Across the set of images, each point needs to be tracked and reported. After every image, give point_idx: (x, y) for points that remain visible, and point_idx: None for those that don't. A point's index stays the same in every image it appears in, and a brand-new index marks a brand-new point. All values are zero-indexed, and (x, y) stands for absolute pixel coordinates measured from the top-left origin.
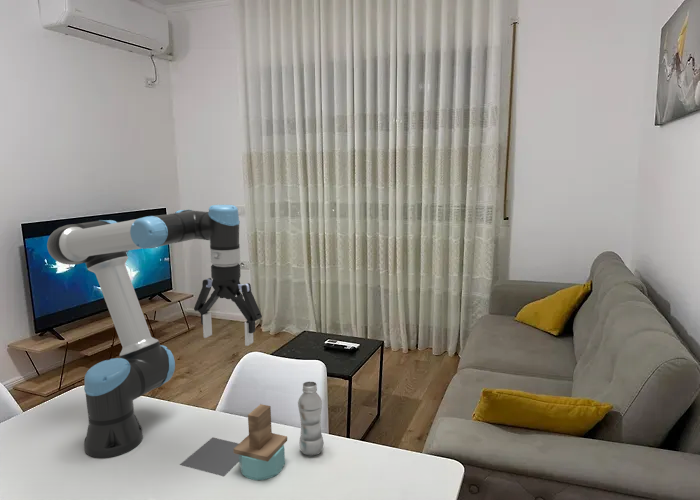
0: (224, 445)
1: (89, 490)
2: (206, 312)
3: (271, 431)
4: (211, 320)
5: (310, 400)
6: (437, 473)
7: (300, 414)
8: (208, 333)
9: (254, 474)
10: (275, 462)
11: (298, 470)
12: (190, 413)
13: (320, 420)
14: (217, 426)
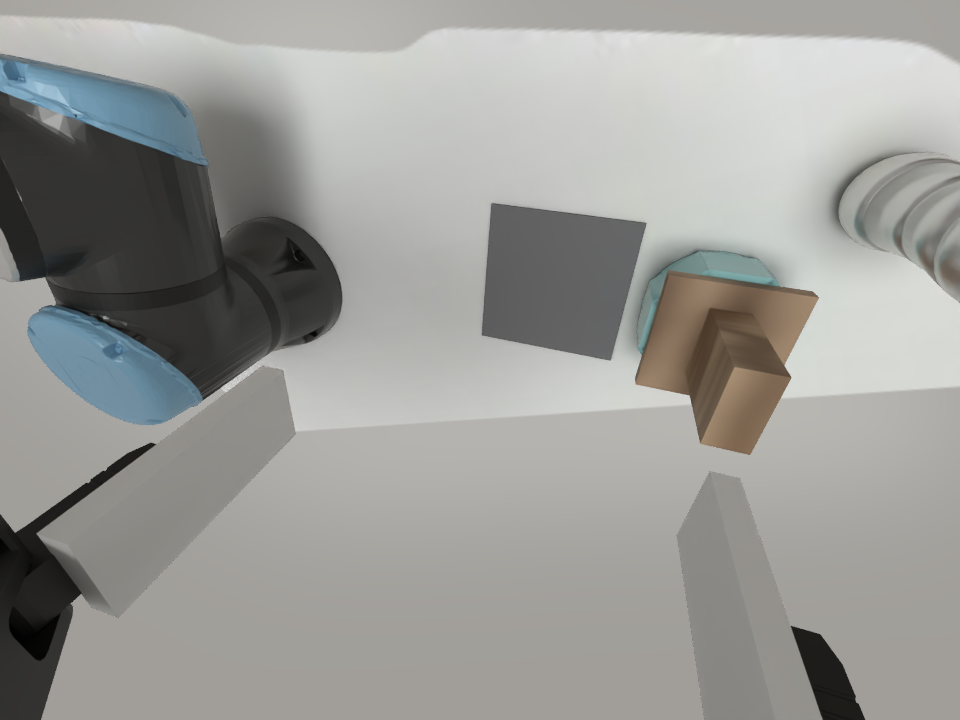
0: (549, 237)
1: (378, 417)
2: (50, 576)
3: (759, 325)
4: (170, 460)
5: None
6: None
7: (927, 272)
8: (272, 422)
9: None
10: None
11: (832, 303)
12: (333, 73)
13: None
14: (468, 129)
